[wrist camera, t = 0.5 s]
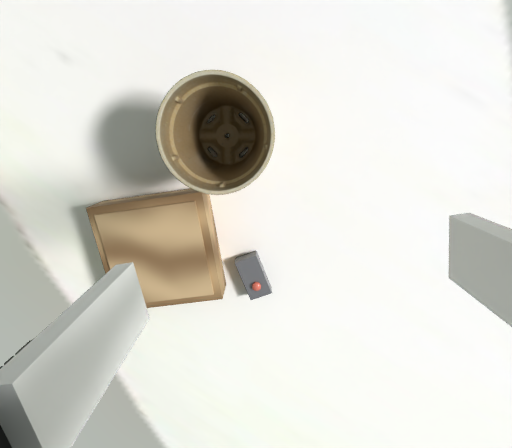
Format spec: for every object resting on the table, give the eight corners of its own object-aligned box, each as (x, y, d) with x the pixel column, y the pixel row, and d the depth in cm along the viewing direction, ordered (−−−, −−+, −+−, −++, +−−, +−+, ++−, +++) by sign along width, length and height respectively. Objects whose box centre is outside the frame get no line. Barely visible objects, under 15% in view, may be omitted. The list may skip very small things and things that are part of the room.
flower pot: (171, 161, 33) (141, 170, 25) (198, 72, 31) (174, 49, 23) (252, 192, 34) (249, 211, 26) (285, 107, 32) (293, 98, 23)
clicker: (236, 257, 37) (234, 264, 35) (256, 249, 36) (256, 256, 34) (251, 292, 38) (250, 301, 36) (271, 285, 38) (271, 294, 36)
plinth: (102, 200, 35) (84, 208, 31) (207, 186, 34) (201, 192, 30) (129, 295, 38) (115, 312, 34) (226, 284, 37) (222, 300, 34)
